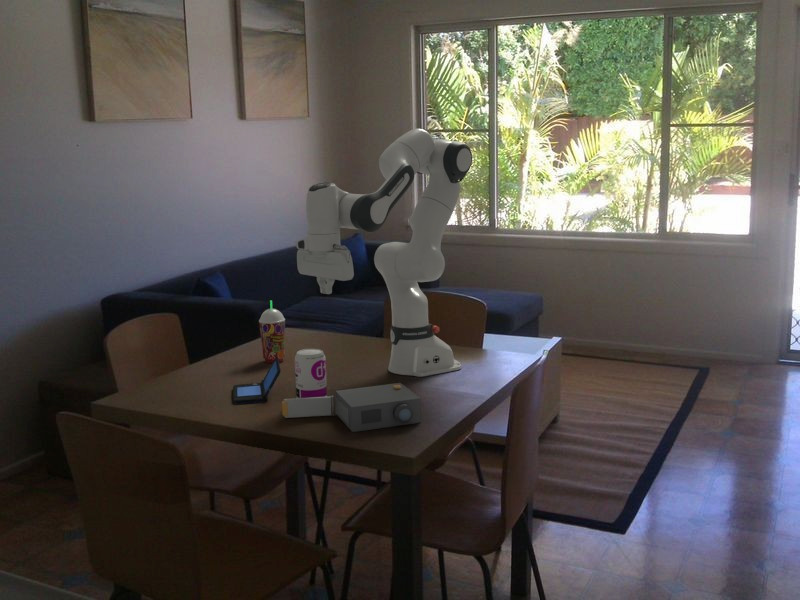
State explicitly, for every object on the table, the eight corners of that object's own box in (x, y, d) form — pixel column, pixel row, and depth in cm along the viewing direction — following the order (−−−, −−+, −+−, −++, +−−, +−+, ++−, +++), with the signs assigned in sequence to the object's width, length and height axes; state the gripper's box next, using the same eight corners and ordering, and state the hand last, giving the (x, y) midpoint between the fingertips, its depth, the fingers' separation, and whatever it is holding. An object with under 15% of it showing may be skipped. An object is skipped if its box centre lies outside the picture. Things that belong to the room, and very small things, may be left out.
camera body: (401, 405, 241) (400, 380, 239) (424, 425, 225) (423, 398, 223) (335, 414, 235) (334, 388, 234) (354, 435, 219) (353, 407, 217)
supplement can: (333, 404, 243) (331, 351, 240) (311, 412, 237) (308, 357, 234) (313, 399, 249) (310, 346, 246) (290, 406, 243) (288, 352, 240)
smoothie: (275, 365, 285) (272, 303, 281) (255, 362, 289) (252, 301, 285) (292, 359, 292) (289, 299, 288) (272, 356, 296) (269, 297, 292)
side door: (334, 415, 234) (334, 396, 233) (282, 418, 232) (281, 399, 231) (334, 414, 235) (334, 395, 234) (283, 417, 233) (282, 398, 232)
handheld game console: (233, 389, 261) (231, 358, 259) (279, 386, 263) (277, 355, 261) (233, 405, 246) (231, 373, 244) (282, 401, 248) (280, 369, 246)
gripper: (358, 244, 238) (360, 296, 241) (310, 239, 253) (312, 287, 255) (340, 247, 234) (342, 299, 237) (292, 241, 248) (294, 290, 251)
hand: (326, 293), depth 246 cm, fingers closed
